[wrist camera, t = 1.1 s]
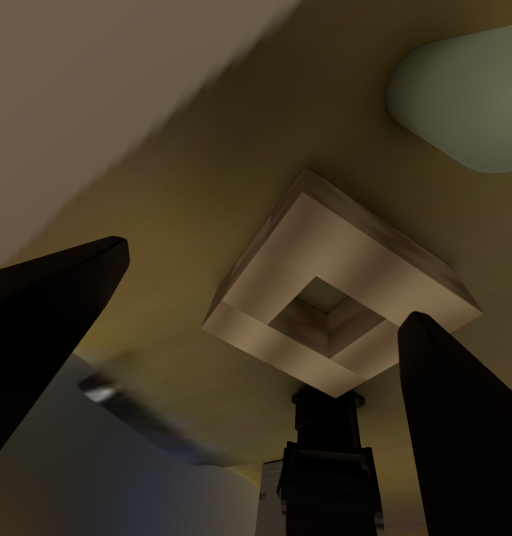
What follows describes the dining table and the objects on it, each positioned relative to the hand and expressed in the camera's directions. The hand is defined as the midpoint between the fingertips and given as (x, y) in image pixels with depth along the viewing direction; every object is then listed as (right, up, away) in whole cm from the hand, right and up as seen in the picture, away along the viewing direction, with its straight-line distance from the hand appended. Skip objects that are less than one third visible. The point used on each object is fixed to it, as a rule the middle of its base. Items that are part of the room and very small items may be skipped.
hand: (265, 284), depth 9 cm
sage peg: (+9, +11, +7) cm, 15 cm away
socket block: (+5, -1, +16) cm, 16 cm away
